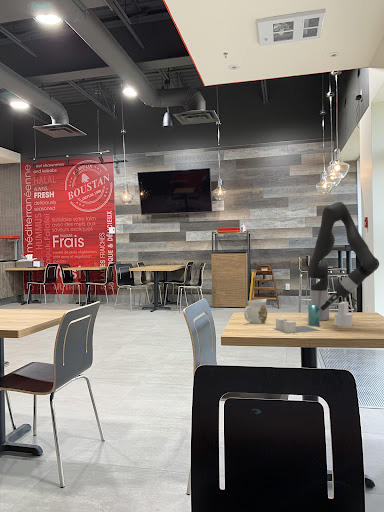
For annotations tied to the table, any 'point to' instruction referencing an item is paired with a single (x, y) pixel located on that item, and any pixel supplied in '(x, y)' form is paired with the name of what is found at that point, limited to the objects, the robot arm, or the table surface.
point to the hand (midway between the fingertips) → (323, 308)
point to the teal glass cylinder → (313, 315)
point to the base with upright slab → (343, 315)
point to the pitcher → (256, 311)
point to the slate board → (300, 329)
